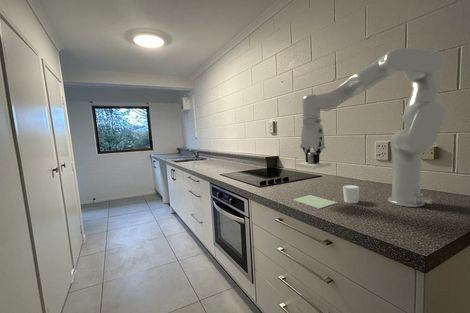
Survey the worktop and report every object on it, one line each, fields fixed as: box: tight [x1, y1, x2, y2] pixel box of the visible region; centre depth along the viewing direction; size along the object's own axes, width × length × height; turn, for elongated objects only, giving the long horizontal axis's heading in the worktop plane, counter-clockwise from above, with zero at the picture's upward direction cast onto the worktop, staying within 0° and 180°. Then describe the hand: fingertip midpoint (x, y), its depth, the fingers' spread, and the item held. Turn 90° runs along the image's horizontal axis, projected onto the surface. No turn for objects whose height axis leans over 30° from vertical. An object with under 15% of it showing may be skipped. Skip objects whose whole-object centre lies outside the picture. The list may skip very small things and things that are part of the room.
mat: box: [292, 194, 338, 210], centre depth 105 cm, size 16×12×1 cm
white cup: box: [342, 184, 360, 204], centre depth 101 cm, size 7×7×7 cm
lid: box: [294, 151, 331, 170], centre depth 103 cm, size 11×11×6 cm
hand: (312, 162), depth 103 cm, fingers closed on lid, 4 cm apart
